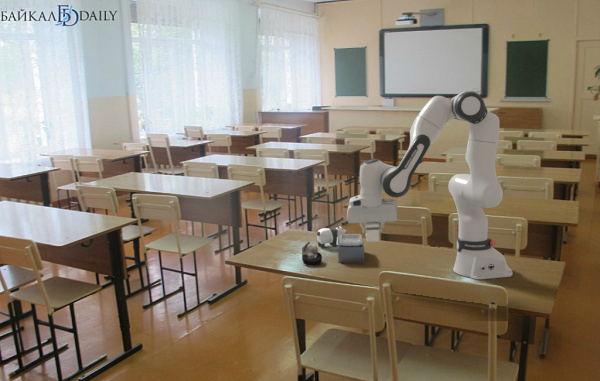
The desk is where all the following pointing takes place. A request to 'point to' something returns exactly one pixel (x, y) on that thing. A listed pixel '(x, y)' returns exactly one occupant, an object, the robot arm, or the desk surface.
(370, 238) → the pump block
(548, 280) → the desk surface
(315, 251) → the black based translucent ornament
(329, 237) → the giant panda
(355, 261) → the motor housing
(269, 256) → the desk surface
